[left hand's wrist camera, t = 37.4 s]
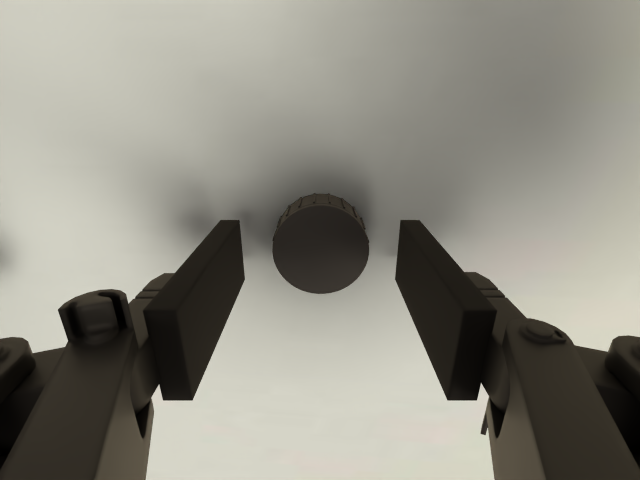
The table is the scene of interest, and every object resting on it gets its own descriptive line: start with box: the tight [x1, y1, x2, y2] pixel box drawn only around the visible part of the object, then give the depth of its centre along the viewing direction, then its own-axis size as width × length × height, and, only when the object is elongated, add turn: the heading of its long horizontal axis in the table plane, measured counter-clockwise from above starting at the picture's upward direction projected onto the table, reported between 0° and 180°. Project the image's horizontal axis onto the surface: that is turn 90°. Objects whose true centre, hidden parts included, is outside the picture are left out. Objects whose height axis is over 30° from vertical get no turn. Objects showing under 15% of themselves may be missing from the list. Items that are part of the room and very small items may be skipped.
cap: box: [273, 193, 369, 294], centre depth 15 cm, size 4×4×2 cm
